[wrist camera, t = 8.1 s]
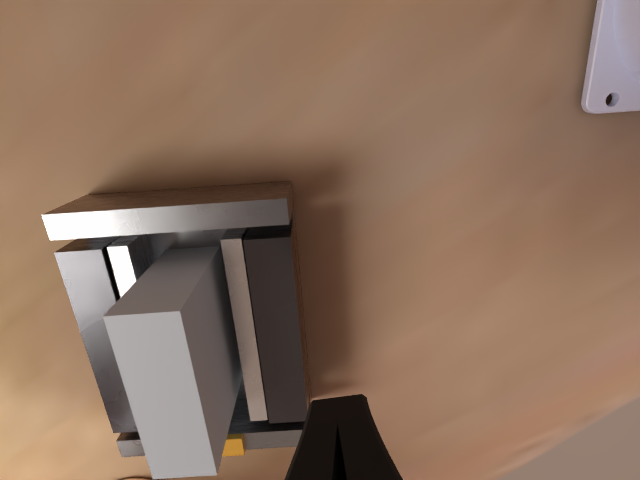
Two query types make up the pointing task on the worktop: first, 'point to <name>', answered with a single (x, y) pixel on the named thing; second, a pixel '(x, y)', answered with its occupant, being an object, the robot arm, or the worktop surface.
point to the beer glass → (136, 479)
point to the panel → (179, 360)
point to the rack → (242, 282)
